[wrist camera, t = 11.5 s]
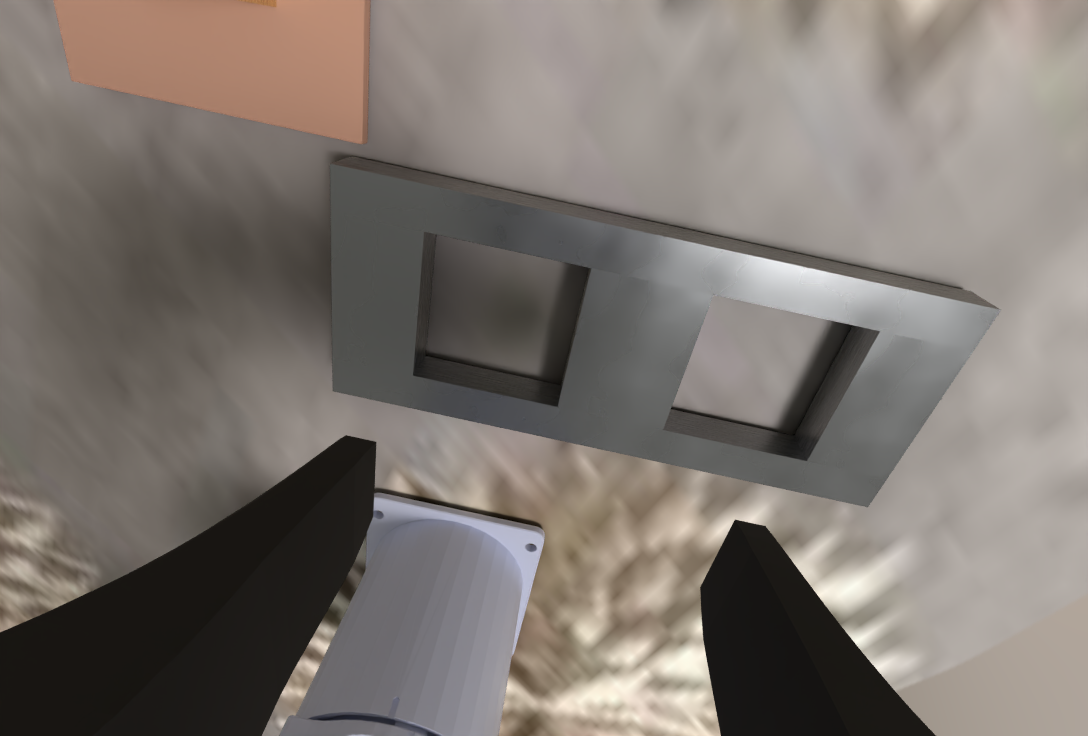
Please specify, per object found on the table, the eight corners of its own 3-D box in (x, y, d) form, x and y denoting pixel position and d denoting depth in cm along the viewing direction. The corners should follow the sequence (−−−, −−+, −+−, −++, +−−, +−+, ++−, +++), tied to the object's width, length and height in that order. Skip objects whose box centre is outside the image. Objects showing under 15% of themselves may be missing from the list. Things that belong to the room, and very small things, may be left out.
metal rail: (851, 479, 21) (867, 507, 20) (350, 371, 21) (332, 391, 20) (970, 291, 17) (1001, 310, 16) (351, 156, 17) (330, 163, 16)
